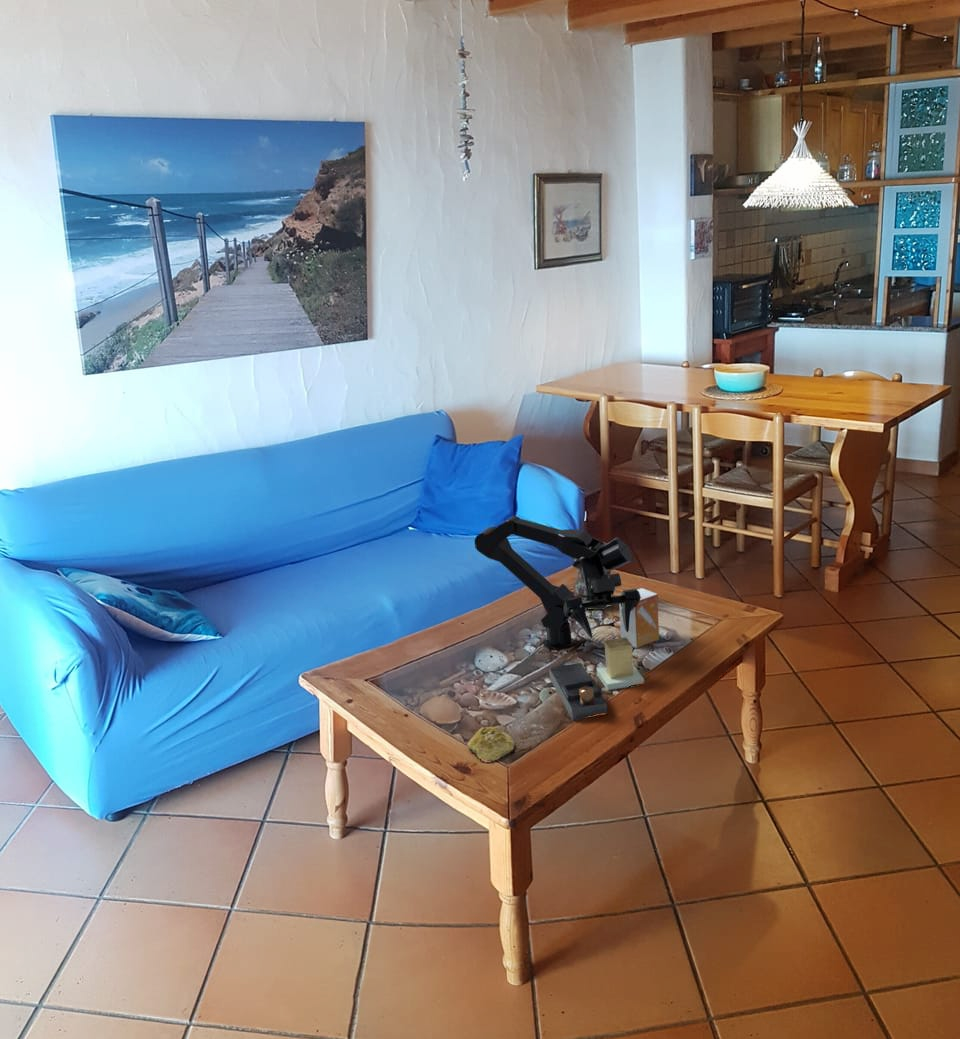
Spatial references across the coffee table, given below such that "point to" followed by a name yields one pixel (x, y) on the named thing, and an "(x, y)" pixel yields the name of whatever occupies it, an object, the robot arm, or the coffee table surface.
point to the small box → (642, 620)
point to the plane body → (577, 691)
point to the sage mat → (619, 679)
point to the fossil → (491, 744)
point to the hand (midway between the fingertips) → (609, 634)
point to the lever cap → (618, 658)
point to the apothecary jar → (580, 585)
